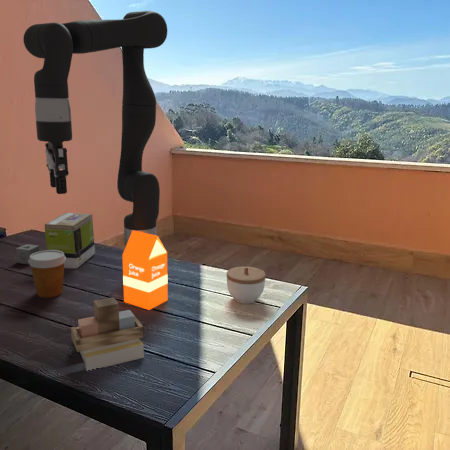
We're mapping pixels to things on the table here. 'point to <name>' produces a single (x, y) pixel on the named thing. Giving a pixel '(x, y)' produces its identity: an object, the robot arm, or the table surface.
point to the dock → (112, 354)
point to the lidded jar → (245, 283)
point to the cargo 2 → (126, 320)
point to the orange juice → (145, 271)
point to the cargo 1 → (88, 327)
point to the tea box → (71, 237)
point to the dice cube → (26, 253)
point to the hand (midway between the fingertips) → (58, 190)
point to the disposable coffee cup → (48, 272)
